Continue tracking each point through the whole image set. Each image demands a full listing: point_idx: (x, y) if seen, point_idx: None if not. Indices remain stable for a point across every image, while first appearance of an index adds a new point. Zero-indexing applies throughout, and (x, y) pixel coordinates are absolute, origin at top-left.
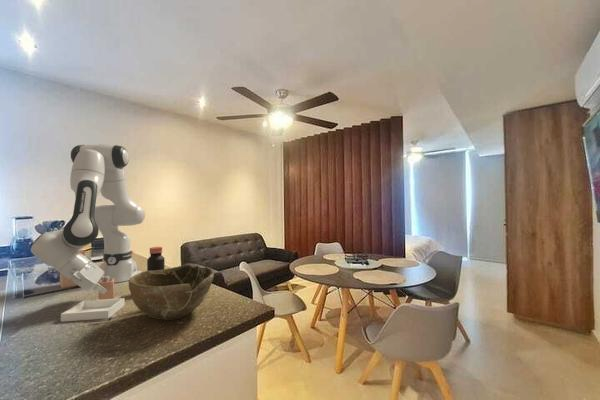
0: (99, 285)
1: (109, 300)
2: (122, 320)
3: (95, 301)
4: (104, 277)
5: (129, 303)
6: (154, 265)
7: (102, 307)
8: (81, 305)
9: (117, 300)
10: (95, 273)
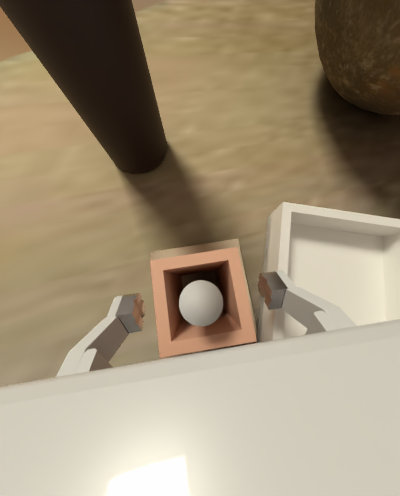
0: (336, 307)
1: (287, 255)
2: (381, 195)
3: (283, 313)
4: (215, 317)
5: (230, 210)
6: None
7: None
8: None
9: (288, 226)
10: (214, 455)
